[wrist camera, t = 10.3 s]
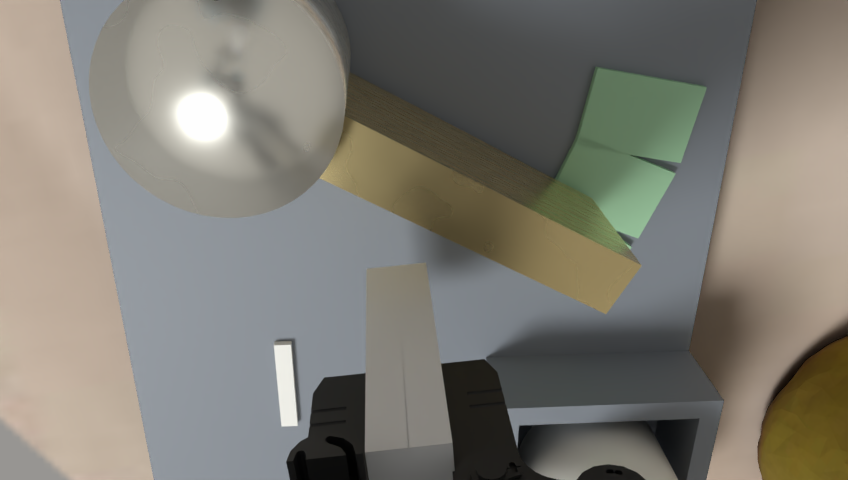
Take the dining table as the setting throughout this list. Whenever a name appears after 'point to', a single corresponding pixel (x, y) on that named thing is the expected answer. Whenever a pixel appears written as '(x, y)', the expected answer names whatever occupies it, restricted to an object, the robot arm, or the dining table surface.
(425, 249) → the board
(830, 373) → the mug
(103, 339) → the dining table surface
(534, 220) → the grey and tan piece
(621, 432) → the button
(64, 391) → the dining table surface
